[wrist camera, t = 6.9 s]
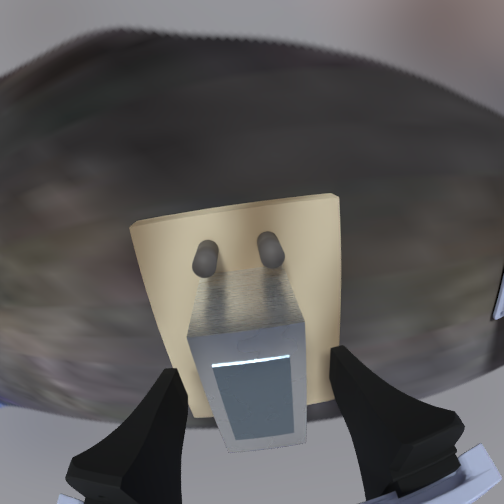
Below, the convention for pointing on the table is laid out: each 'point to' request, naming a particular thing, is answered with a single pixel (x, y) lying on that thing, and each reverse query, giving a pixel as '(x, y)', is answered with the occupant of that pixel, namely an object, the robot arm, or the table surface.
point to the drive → (251, 357)
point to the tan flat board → (245, 257)
